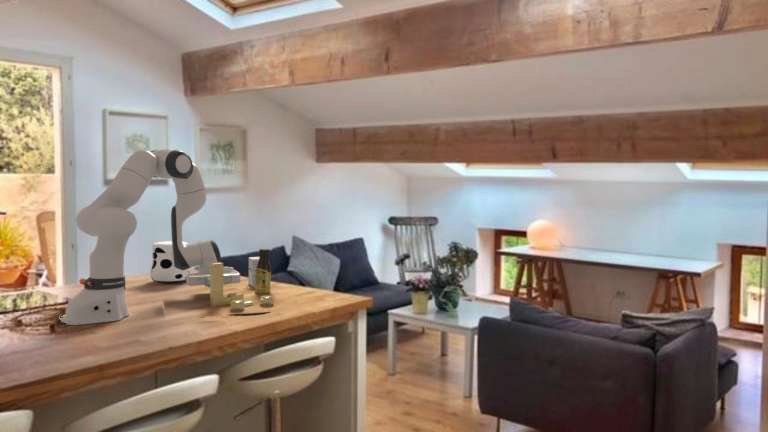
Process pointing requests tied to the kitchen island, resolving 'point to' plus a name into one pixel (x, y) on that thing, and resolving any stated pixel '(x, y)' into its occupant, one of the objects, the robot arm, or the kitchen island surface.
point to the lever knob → (220, 287)
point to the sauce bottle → (263, 273)
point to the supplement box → (252, 270)
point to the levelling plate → (239, 305)
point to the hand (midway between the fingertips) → (215, 282)
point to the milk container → (166, 265)
